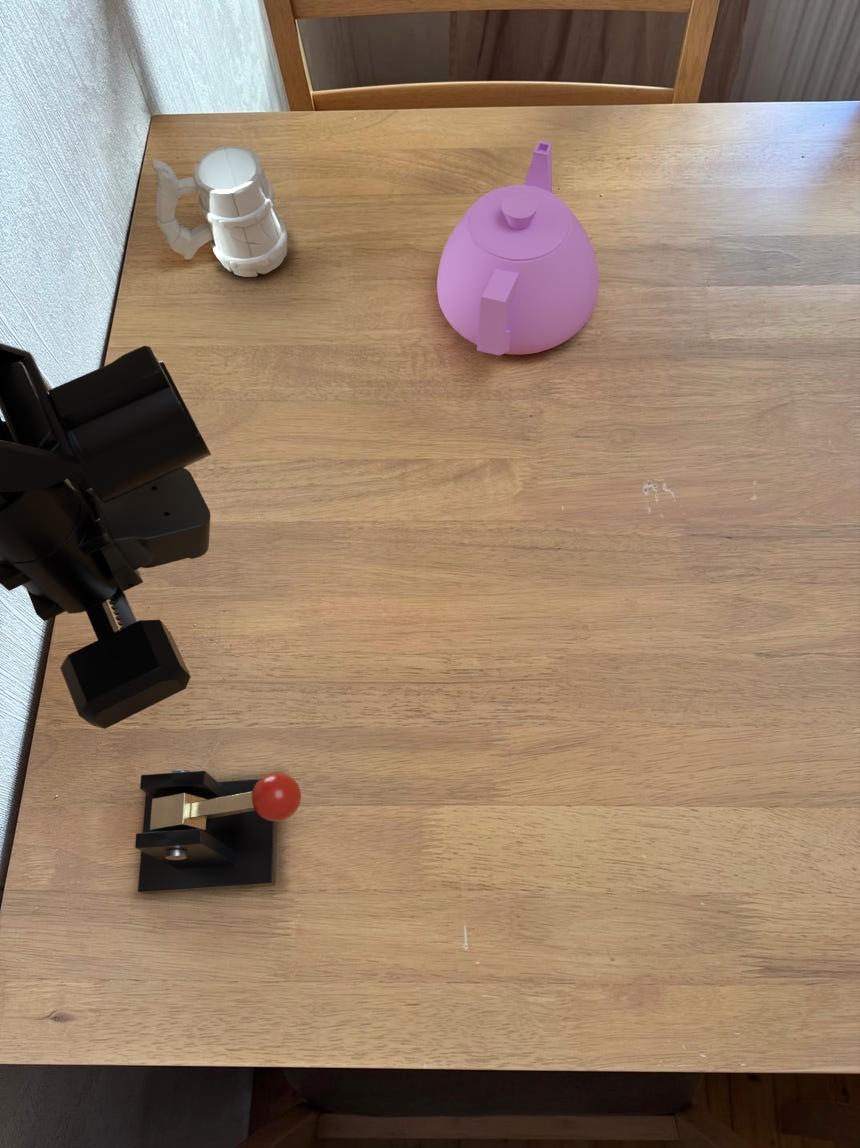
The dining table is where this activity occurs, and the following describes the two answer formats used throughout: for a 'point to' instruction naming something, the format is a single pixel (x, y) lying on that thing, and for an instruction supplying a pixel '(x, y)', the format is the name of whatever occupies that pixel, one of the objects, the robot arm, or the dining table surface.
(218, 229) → the mug
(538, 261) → the teapot
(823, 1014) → the dining table surface
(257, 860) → the switch bracket
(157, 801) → the lever
